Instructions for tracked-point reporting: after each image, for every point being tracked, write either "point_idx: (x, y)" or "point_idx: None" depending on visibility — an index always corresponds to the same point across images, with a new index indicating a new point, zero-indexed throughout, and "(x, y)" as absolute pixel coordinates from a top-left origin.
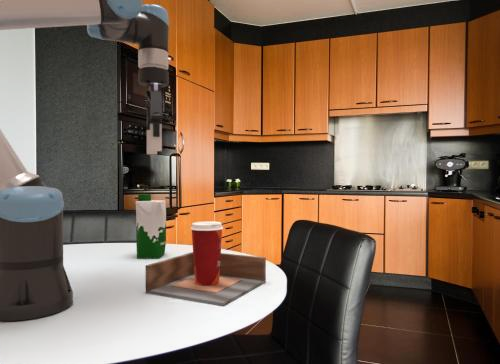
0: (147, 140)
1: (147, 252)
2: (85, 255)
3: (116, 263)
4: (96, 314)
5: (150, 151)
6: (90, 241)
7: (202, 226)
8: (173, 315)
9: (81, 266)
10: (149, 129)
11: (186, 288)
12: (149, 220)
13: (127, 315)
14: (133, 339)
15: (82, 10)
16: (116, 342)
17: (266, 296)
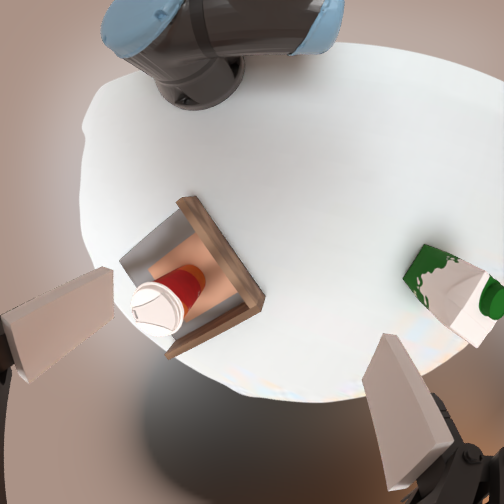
0: (407, 387)
1: (417, 262)
2: (480, 173)
3: (405, 200)
4: (147, 135)
5: (379, 359)
6: None
7: (134, 294)
8: (115, 206)
9: (407, 143)
10: (441, 462)
11: (177, 246)
12: (440, 285)
13: (131, 164)
14: (87, 165)
15: None
16: (88, 153)
17: None
